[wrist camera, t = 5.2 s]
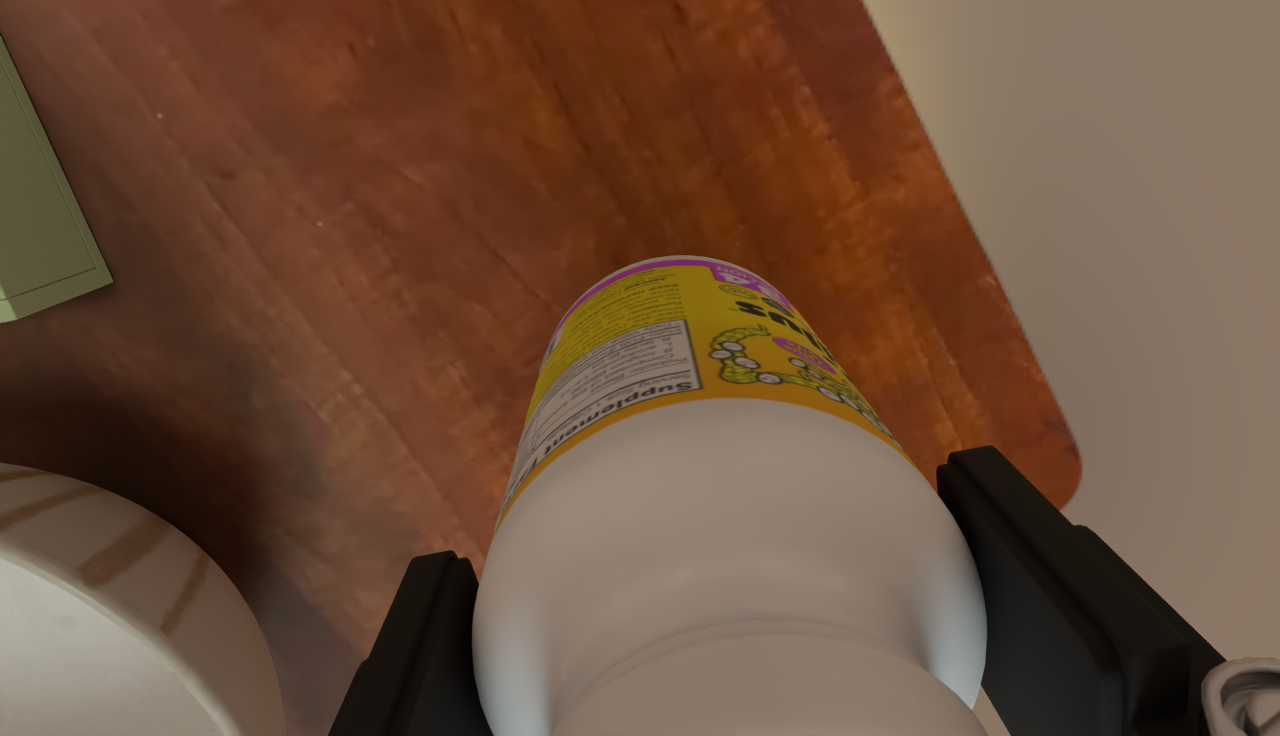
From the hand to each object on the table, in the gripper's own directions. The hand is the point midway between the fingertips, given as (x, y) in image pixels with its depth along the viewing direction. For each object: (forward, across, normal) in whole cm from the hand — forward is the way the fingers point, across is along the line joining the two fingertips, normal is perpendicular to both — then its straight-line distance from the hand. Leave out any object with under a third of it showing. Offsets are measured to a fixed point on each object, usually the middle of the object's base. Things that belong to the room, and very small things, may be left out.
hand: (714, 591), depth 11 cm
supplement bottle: (+8, 0, 0) cm, 8 cm away
